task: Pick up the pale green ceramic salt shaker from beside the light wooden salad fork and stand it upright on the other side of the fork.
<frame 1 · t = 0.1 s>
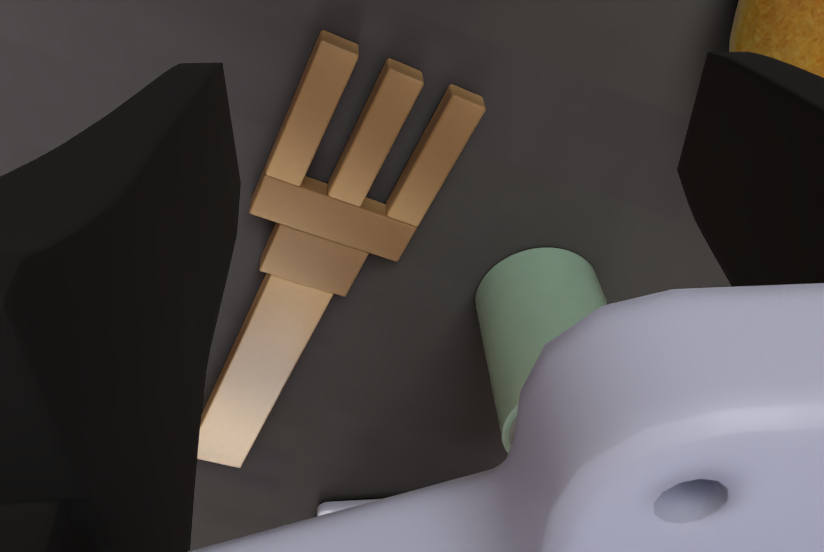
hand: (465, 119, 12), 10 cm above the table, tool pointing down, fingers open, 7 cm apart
salt shaker: (536, 295, 28), on the table
salad fork: (293, 290, 27), on the table
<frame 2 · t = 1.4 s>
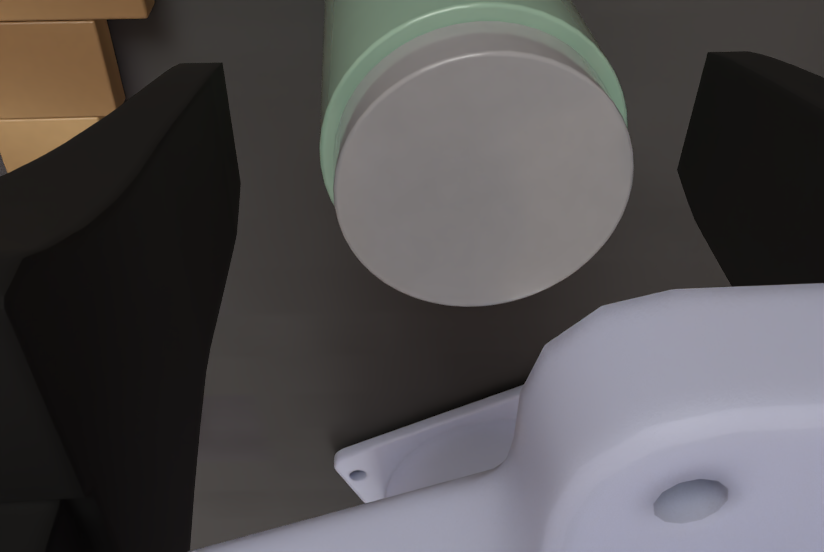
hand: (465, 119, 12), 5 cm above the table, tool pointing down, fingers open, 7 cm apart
salt shaker: (435, 1, 16), on the table
salad fork: (66, 142, 17), on the table
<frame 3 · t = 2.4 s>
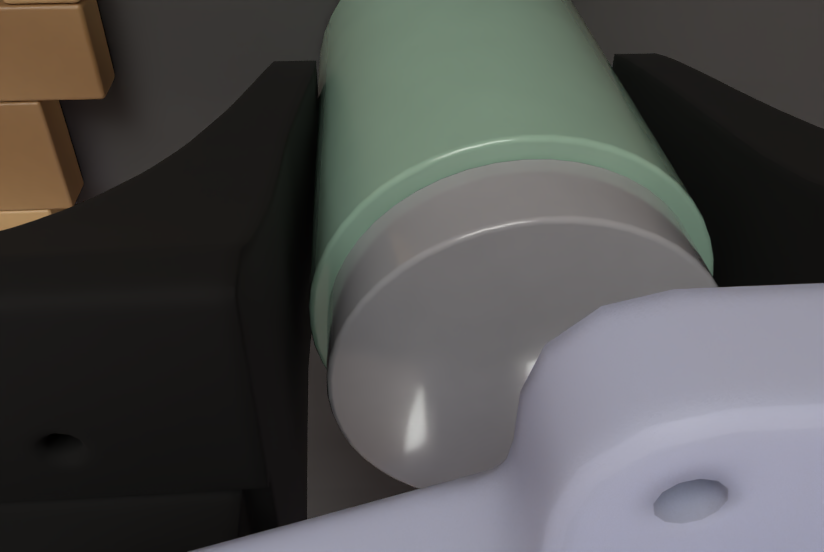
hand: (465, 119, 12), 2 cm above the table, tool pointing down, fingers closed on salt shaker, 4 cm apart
salt shaker: (451, 72, 13), on the table, touching gripper
salad fork: (15, 232, 15), on the table
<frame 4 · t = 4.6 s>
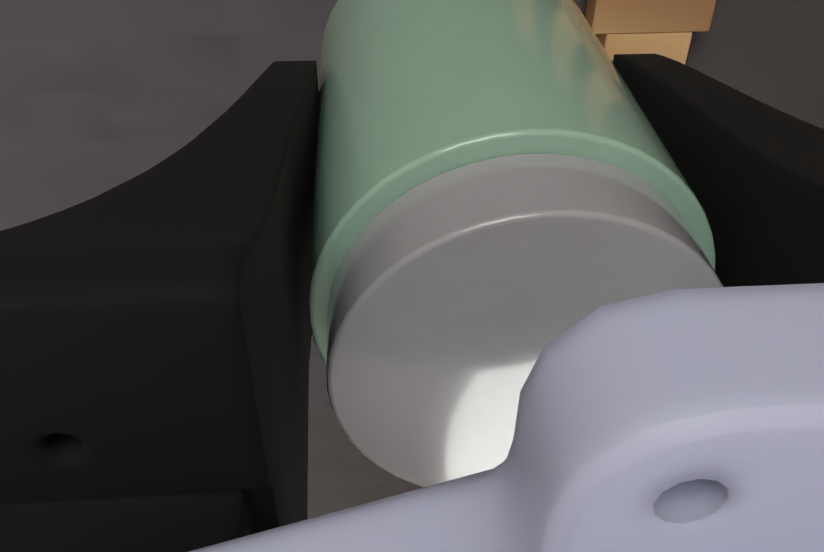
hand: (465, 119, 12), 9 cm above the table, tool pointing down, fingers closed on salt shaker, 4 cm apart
salt shaker: (452, 69, 13), point 7 cm above the table, touching gripper
salad fork: (633, 57, 21), on the table
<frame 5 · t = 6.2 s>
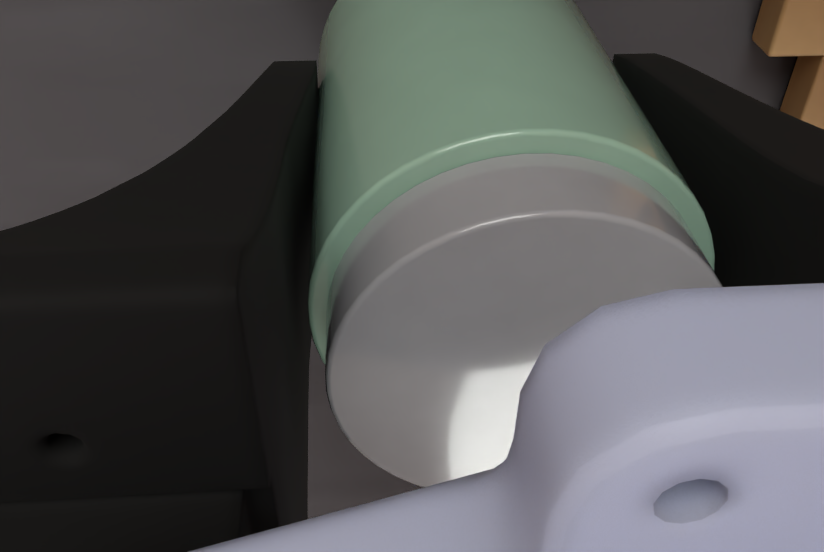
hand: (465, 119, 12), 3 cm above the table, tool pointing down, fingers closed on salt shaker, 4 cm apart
salt shaker: (451, 69, 13), point 1 cm above the table, touching gripper
when the fingers open (2 cm above the table, at t = 7.0 s): salt shaker stays where it is, on the table.
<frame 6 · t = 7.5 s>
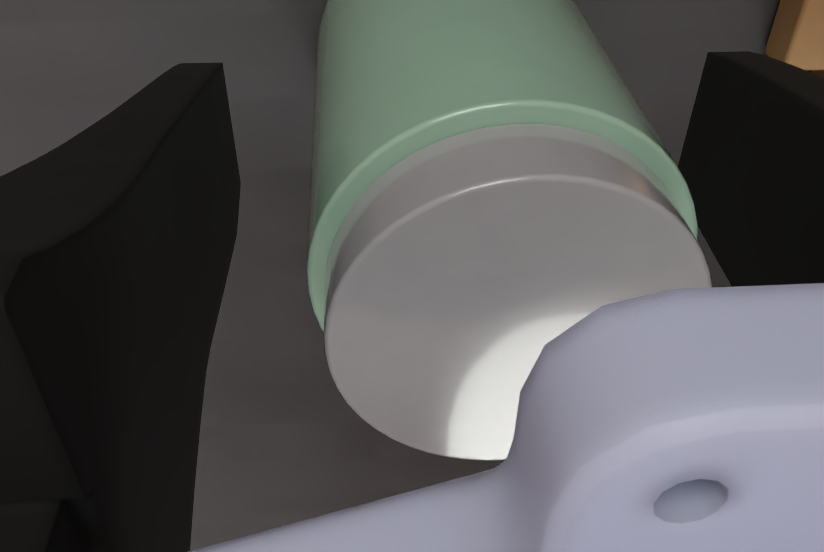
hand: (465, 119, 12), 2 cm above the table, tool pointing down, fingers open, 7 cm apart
salt shaker: (446, 54, 14), on the table
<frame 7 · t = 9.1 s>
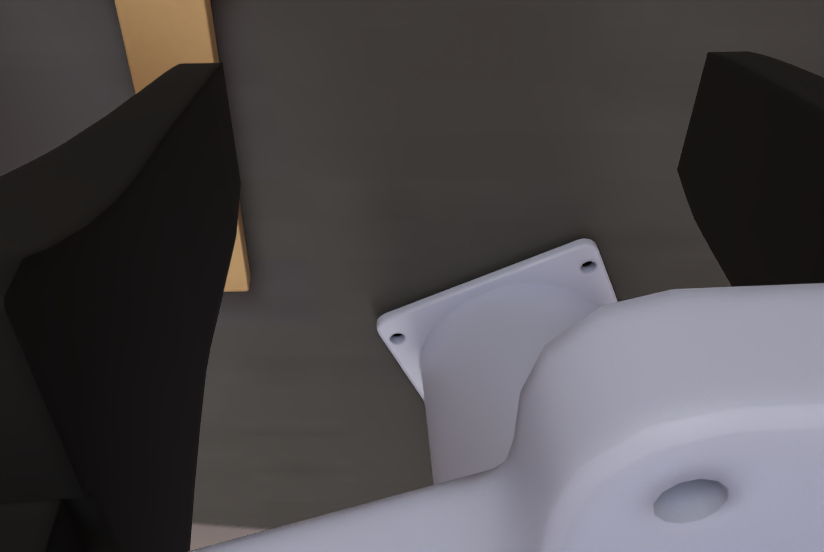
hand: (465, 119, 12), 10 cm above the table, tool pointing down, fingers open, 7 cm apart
salad fork: (168, 9, 20), on the table
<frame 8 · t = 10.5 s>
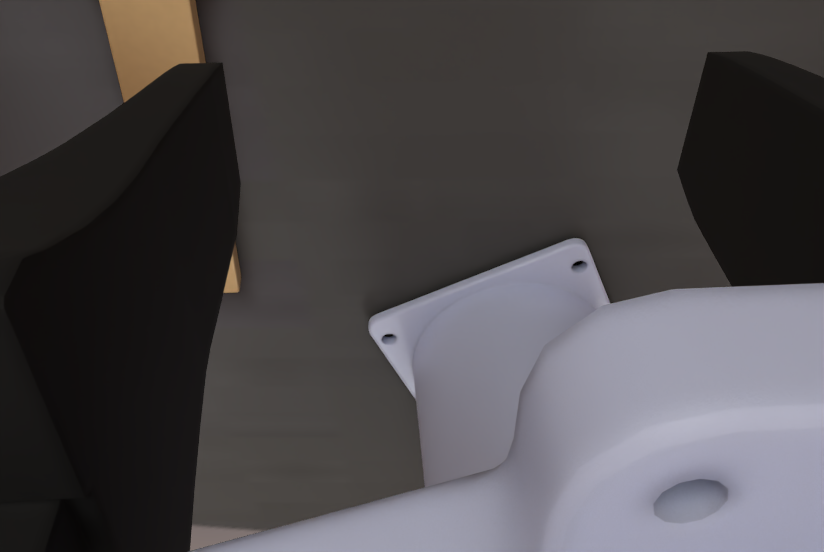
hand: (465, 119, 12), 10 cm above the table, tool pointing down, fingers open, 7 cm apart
salad fork: (154, 11, 20), on the table
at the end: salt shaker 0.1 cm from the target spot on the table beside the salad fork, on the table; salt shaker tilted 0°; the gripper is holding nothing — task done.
